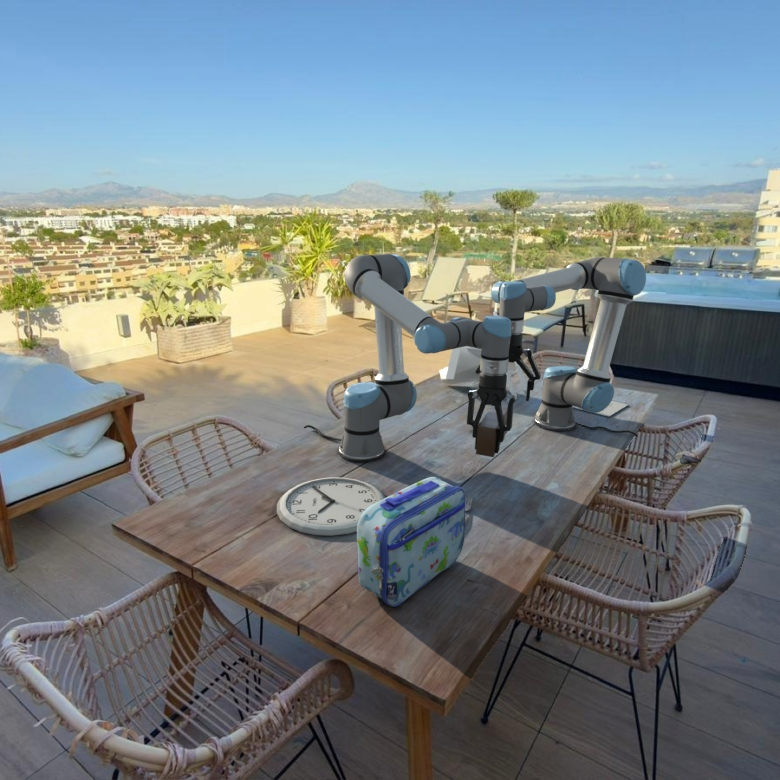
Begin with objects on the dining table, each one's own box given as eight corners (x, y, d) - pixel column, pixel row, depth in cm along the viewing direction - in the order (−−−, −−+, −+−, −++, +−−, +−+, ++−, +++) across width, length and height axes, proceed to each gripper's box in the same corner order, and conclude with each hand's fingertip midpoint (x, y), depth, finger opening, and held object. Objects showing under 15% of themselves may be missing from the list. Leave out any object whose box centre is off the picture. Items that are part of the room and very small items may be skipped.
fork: (449, 531, 131) (450, 524, 131) (463, 501, 146) (463, 495, 145) (459, 533, 130) (460, 526, 130) (472, 503, 145) (473, 496, 144)
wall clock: (392, 527, 129) (268, 531, 127) (391, 533, 130) (269, 537, 127) (383, 473, 158) (282, 475, 155) (383, 478, 158) (282, 480, 156)
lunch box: (386, 620, 101) (388, 525, 95) (350, 593, 108) (349, 503, 102) (468, 563, 119) (474, 480, 112) (432, 543, 126) (436, 464, 120)
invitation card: (608, 416, 214) (573, 407, 224) (608, 416, 214) (573, 408, 224) (628, 404, 229) (594, 396, 238) (628, 405, 229) (594, 397, 238)
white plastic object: (461, 429, 252) (437, 405, 227) (444, 352, 274) (420, 323, 250) (535, 404, 240) (518, 377, 215) (510, 326, 262) (492, 293, 237)
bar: (493, 425, 172) (495, 400, 169) (509, 428, 170) (511, 402, 168) (475, 454, 150) (477, 425, 148) (493, 457, 148) (496, 428, 146)
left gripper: (457, 371, 145) (453, 449, 152) (524, 380, 138) (516, 460, 145) (464, 365, 152) (460, 439, 159) (528, 373, 145) (520, 450, 152)
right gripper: (468, 332, 163) (465, 396, 170) (551, 337, 155) (545, 405, 161) (473, 327, 170) (470, 389, 177) (553, 332, 161) (547, 397, 168)
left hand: (487, 449), depth 152 cm, fingers closed on bar, 5 cm apart
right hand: (506, 397), depth 169 cm, fingers open, 13 cm apart
